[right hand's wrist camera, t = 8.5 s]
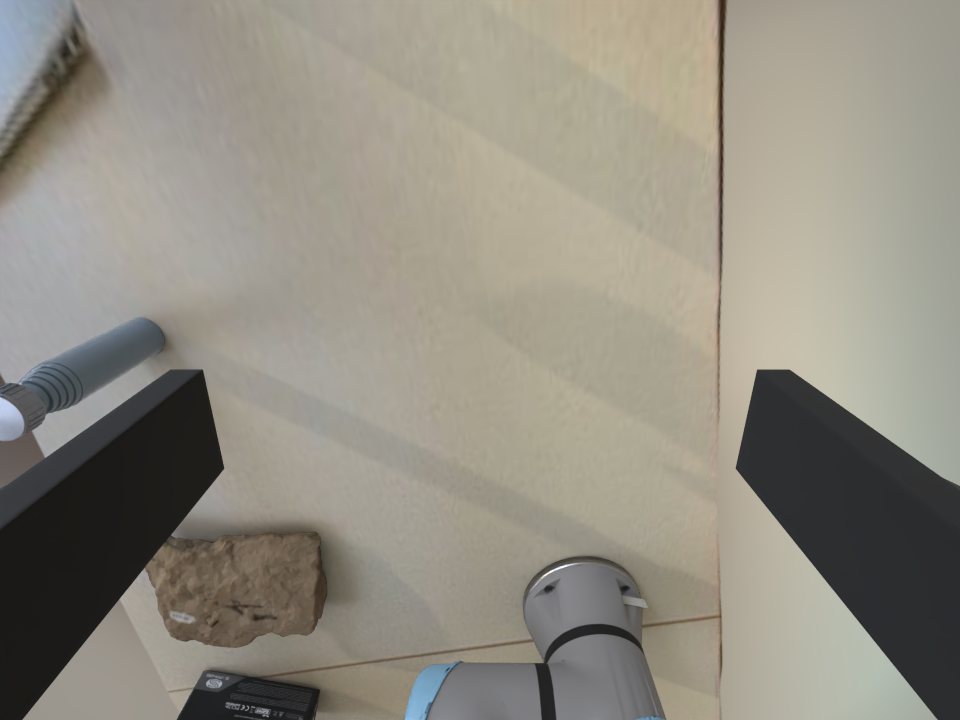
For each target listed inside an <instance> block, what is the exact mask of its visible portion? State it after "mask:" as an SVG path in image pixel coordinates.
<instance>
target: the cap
mask: <svg viewBox="0 0 960 720" xmlns="http://www.w3.org/2000/svg"><path fill="white" fill-rule="evenodd" d="M45 416H46V409H45V406H44V403H43V401H42V400H41V398H40V397H39V396H38V395H37V394H36V393H35V392H34V391H32V390H31V389H29V388H28V387H26V386H23V385H20V384H15V383H8V384H2V385H0V440H1V441H12V440H15V439H17V438H19V437H20V436H24V435H25V434H27V433H29V432H30V431H32V430H33V429H35V428H37V427H38V426H39V425H40V424H42V422H43V421H44V419H45Z"/></svg>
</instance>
